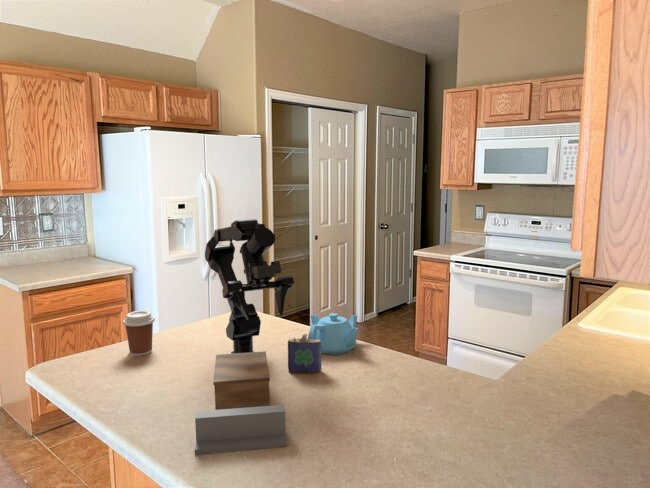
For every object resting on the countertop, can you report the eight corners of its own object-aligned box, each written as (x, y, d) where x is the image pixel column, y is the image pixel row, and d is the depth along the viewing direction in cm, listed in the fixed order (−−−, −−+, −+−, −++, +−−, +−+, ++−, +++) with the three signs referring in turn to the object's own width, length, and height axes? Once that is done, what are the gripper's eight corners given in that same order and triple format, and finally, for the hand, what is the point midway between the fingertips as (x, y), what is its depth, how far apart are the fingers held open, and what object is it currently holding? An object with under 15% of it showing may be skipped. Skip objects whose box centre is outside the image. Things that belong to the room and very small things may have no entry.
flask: (321, 369, 139) (321, 332, 137) (321, 374, 136) (320, 336, 135) (288, 369, 140) (287, 332, 138) (287, 373, 137) (286, 336, 135)
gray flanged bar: (197, 438, 104) (196, 411, 103) (284, 431, 107) (284, 404, 106) (194, 454, 99) (193, 426, 98) (286, 446, 101) (286, 418, 100)
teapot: (311, 338, 164) (310, 306, 163) (357, 339, 164) (357, 307, 162) (307, 356, 149) (306, 321, 148) (357, 356, 149) (358, 321, 147)
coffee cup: (120, 351, 154) (117, 313, 152) (149, 344, 160) (147, 307, 158) (132, 359, 147) (129, 320, 145) (161, 352, 153) (159, 314, 151)
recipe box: (217, 388, 128) (216, 354, 127) (266, 384, 130) (265, 351, 129) (214, 420, 112) (213, 381, 111) (270, 415, 114) (269, 377, 113)
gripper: (227, 252, 125) (238, 312, 120) (295, 248, 134) (309, 303, 128) (217, 269, 134) (227, 325, 129) (282, 263, 143) (294, 316, 138)
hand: (265, 317), depth 131 cm, fingers open, 9 cm apart
